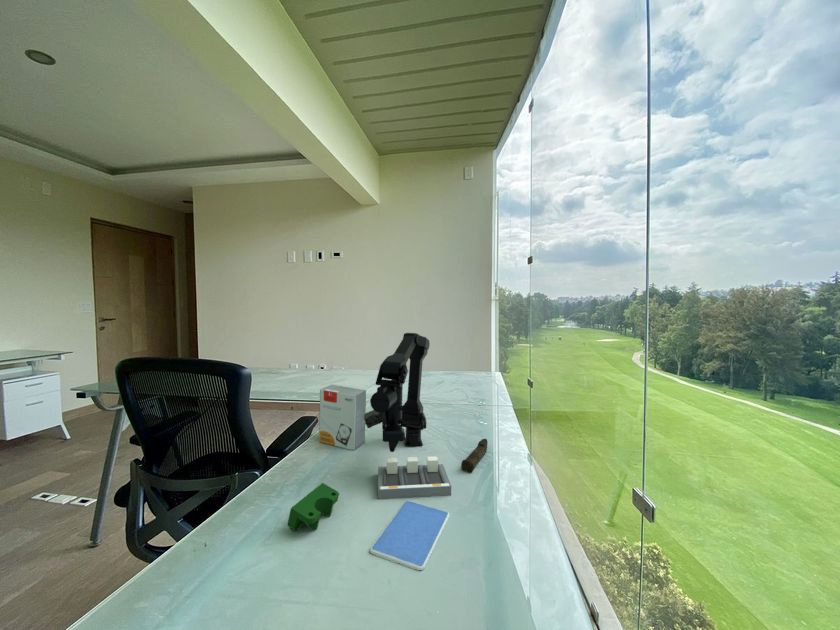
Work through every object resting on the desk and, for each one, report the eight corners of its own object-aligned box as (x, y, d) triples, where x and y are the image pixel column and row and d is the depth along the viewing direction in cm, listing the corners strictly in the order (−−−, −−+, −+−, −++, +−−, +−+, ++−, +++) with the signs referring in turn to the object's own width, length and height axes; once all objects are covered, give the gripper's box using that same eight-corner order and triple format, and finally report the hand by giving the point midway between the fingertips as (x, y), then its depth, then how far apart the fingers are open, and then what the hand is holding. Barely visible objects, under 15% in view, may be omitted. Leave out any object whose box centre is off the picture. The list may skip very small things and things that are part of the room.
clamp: (309, 549, 77) (305, 528, 72) (289, 536, 79) (285, 514, 74) (341, 504, 86) (340, 483, 82) (323, 493, 88) (321, 472, 84)
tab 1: (386, 469, 99) (386, 458, 99) (396, 469, 99) (397, 457, 99) (386, 474, 97) (387, 462, 96) (397, 473, 97) (397, 461, 97)
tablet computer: (405, 503, 89) (405, 498, 89) (450, 516, 84) (450, 511, 84) (368, 555, 71) (368, 549, 71) (423, 575, 66) (423, 568, 66)
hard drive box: (318, 442, 122) (318, 389, 120) (331, 434, 129) (331, 384, 127) (354, 451, 116) (355, 395, 114) (366, 442, 123) (366, 389, 122)
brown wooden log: (472, 475, 103) (473, 460, 103) (460, 471, 105) (461, 456, 105) (493, 451, 119) (494, 438, 119) (483, 448, 121) (483, 436, 121)
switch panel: (378, 474, 101) (378, 464, 101) (442, 471, 104) (442, 462, 104) (378, 499, 89) (378, 487, 89) (451, 495, 92) (451, 484, 92)
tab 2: (406, 468, 100) (407, 457, 100) (416, 468, 100) (417, 457, 100) (407, 473, 97) (407, 461, 97) (417, 472, 98) (417, 461, 98)
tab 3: (426, 467, 101) (426, 456, 100) (436, 467, 101) (436, 456, 101) (427, 472, 98) (428, 460, 98) (437, 471, 99) (438, 460, 98)
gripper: (366, 392, 109) (366, 438, 110) (364, 413, 90) (364, 468, 92) (400, 392, 110) (399, 437, 111) (405, 412, 92) (404, 466, 93)
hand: (391, 451), depth 102 cm, fingers closed
